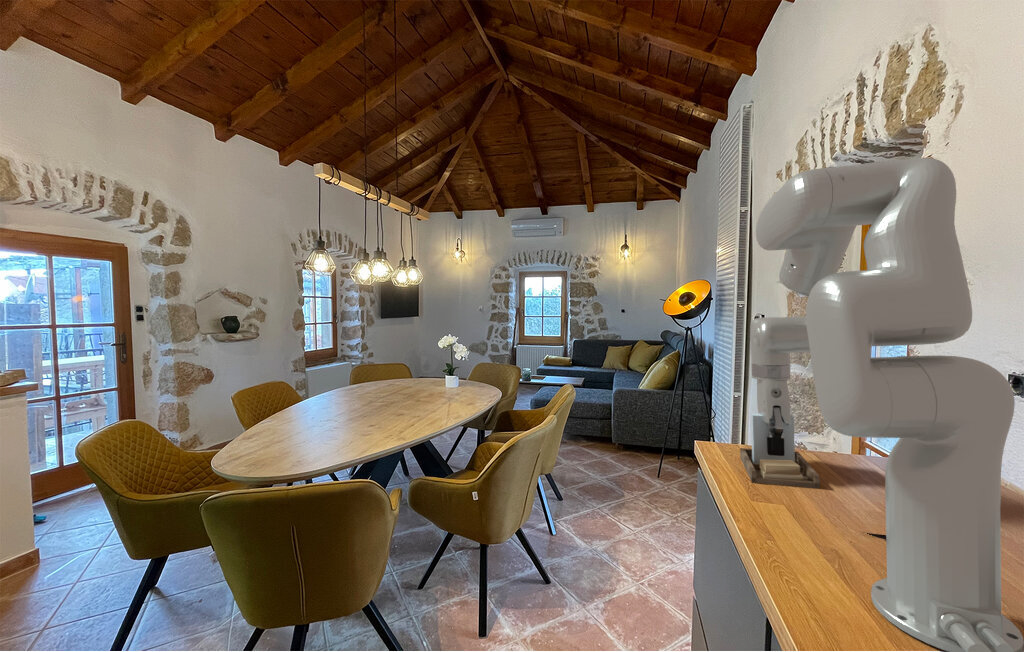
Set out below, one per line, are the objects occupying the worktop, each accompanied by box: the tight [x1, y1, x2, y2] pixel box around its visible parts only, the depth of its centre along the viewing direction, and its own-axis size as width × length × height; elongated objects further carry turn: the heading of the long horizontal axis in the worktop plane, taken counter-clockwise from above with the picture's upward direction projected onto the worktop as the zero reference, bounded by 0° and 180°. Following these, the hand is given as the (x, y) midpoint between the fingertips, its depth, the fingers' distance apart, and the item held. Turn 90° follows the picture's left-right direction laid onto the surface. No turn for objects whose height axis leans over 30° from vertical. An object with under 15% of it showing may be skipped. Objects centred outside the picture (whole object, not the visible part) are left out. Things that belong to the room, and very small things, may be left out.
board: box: [750, 412, 796, 463], centre depth 96 cm, size 2×8×12 cm, turn 69°
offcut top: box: [760, 459, 800, 475], centre depth 89 cm, size 4×6×2 cm, turn 78°
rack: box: [739, 447, 821, 490], centre depth 93 cm, size 15×12×4 cm
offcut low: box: [761, 469, 803, 481], centre depth 89 cm, size 4×7×2 cm, turn 70°
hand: (772, 450), depth 96 cm, fingers open, 5 cm apart
